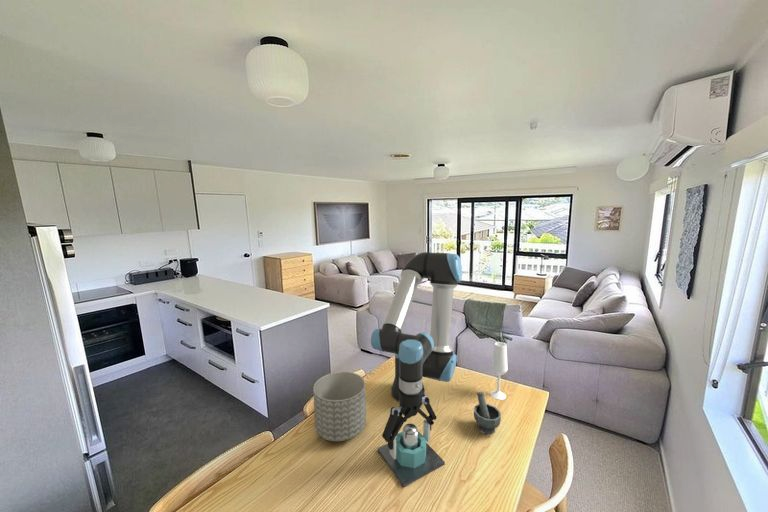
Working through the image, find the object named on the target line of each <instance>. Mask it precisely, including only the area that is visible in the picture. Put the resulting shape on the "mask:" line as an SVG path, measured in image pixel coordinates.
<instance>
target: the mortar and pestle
mask: <svg viewBox="0 0 768 512" xmlns="http://www.w3.org/2000/svg"><path fill="white" fill-rule="evenodd" d="M476 396H477V399H478V404H476V405H475V406H474V409H473V417H474V420H475V422H476V424H477V425H478V430H479V432H480V433H483V434H485V435H493V434H495V432H496V428H498V427H499V426H500V424H501V419H502V417H501V416H502V411H500V410H499V409H498V408H497V406H493V405H492V404H489V403H487V401H486V398H485V393H484V391H478V392H476Z"/></svg>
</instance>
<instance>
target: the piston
mask: <svg viewBox="0 0 768 512" xmlns="http://www.w3.org/2000/svg"><path fill="white" fill-rule="evenodd" d="M402 431H403V448H405V449H410V450H414V449H416V448H418V432H419V429H418V428H417V425H415V424H414V423H405V424H404V426H403V428H402ZM377 452H378V453H379V455H380V456H381V458H382V460H384V462H385V463H386V465H387V466H388V468H389V469H390V470H391V472H392V473H393V474H394V476H395V478H396V479H397V481H398V482H399V483H400V484H401V486H402V487H403V488H405V487H408V486H409V485H411V484H412V483H415V482H417V481H418V480H420V479H421V478H423V477H425V476H427V475H429V474H430V473H432V472H434V471H436V470H437V469H439V468H441V467H443V466H445V463H446V462H445V461H444V460H443V458H442V457H441V456H440V455H439V454H438V453H437V452H436V451H435V450H434V449H433V448H432V447H431V446H430V445H429V444H428V442H426V457H425V463H423V464H421V465H420V466H418V467H416V468H410V467H405V466H401V465H400V463H399V462H398V461H397V459H395V460H394V459H393V457H392V456H391V455H390V449H389V447H388V443H386V444H384V445H382V446H379V447H377Z"/></svg>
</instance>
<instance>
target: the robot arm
mask: <svg viewBox="0 0 768 512" xmlns="http://www.w3.org/2000/svg"><path fill="white" fill-rule="evenodd" d="M462 269H463V266H462V261H461V257H460V256H459V255H458V254H457V253H449V252H448V253H447V252H446V253H445V252H428V251H426V252H424V251H423V252H420V253H418V254H415V255H414V256H413V257H411V258H410V259H409V260H408V261H407V262H406V263H405V265H404V266H403V267H402V269H401V273H400V278H401V279H400V281H399V283H398V286H397V288H396V292H395V294H394V296H393V299H392V301H391V304H390V306H389V309H388V312H387V314H386V317H385V319H384V322H383V324H382V327H381V328H375V329H374V331H372V333H371V335H370V345H371V347H372V348H373V349H374V350H377V351H378V352H379V351H380V352H385V353H390V354H394V375H395V376H394V380H393V382H392V385H391V388H390V390H391V392H390V393H391V396H392V398H393V399H395V400H396V401H397V402H399V406H398V407H394V406H392V407H391V408H390V413H389V416H388V419H387V421H386V424H385V426H384V430H383V432H382V434H381V436H382V438H383V439H384V441H385V442H387V444H388V447H389V449H390V455H391V456H392V457H393V459H394V460H395V459H396V435H397V434H398V433H400V431H401V429H402V427H403V425H404V423H406V422H407V421H408V419H410V418H412V417H415V416H417V414H419V415H420V416H422V417H423V421H422V423H423V427H422V428H423V429H422V431H423V433H422V436H423V437H424V438H425V439H426V443H427V444H428V443H430V442H431V431H432V426H433V425H434V423H435V421H436V420H437V415H436V413H435V411H434V410H433V407H432V405H431V403H430V398H429V397H428V396H427V395H426V394H425V386H424V383H423V378H426V379H431V380H436V381H438V382H445V383H449V382H450V381H451V380H452V378H453V377H454V373H455V371H456V366H457V359H458V356H457V354H456V353H454V348H453V347H452V346H451V334H452V333H451V330H452V316H453V303H454V302H453V299H454V289H455V288H456V287H457V286H458V282H459V283H460V282H461V281H462V278H463V270H462ZM423 279H429V284H430V285H431V286H432V301H431V303H432V304H431V316H430V331H429V332H430V334H429V333H426V332H419V333H418V334H416V335H414V334H411V333H410V334H409V333H408V334H407V333H404V332H402V331H403V328H404V326H405V322H406V321H407V316H408V314H409V311H410V309H411V305H412V302H413V300H414V297H415V294H416V291H417V288H418V286H419V284H421V283H422V281H423ZM422 405H424V407H425V409H426V412H427V413H428V415H427V414H426V413H425V412H424V411H423V410H422V409H421V408H422Z"/></svg>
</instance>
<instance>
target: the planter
mask: <svg viewBox="0 0 768 512" xmlns="http://www.w3.org/2000/svg"><path fill="white" fill-rule="evenodd" d="M366 392H367V391H366V380H365V378H363V376H361V375H360V374H358V373H355V372H351V371H337V372H335V371H334V372H331V373H328V374H326V375H323V376H322V377H320V378H318V380H317V381H316V382H315V383H314V385H313V413H314V416H313V417H314V428H315V429H314V430H315V433H316V434H317V436H319V437H320V438H321V439H324V440H327V441H330V442H344V441H348V440H350V439H353V438H355V437H356V436H358V435H359V434H361V432H362V431H363V430H364V428H365V426H366V423H367V408H366V406H367V404H366V403H367V402H366V401H367V400H366V399H367V398H366Z"/></svg>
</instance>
